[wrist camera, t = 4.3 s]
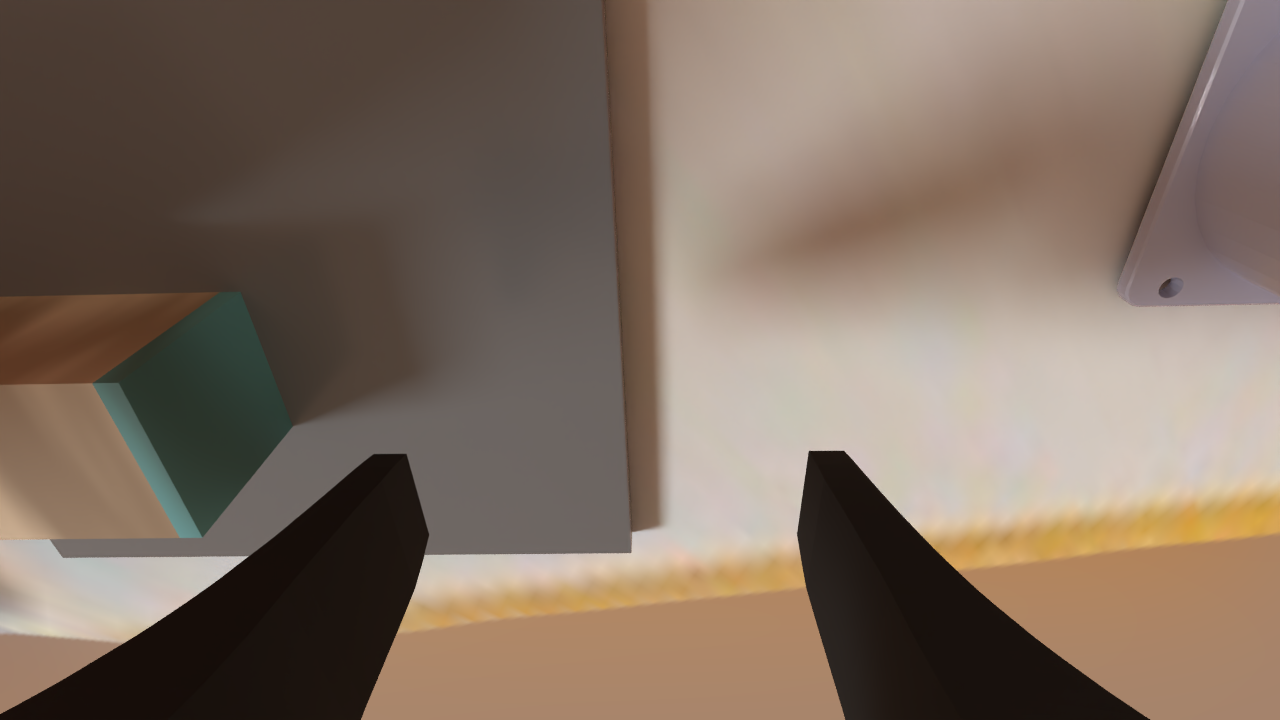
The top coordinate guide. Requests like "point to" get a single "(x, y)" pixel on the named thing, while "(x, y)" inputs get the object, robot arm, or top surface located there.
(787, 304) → the top surface
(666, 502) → the top surface
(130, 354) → the beech block
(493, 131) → the slate board
